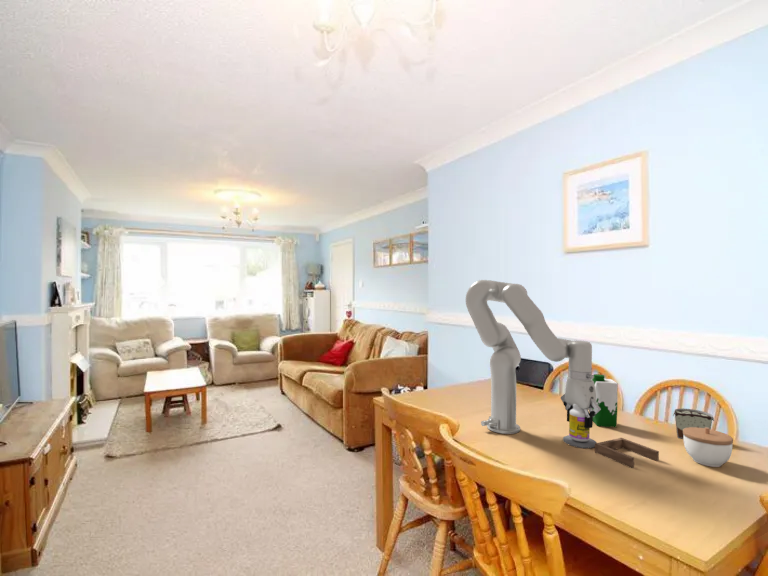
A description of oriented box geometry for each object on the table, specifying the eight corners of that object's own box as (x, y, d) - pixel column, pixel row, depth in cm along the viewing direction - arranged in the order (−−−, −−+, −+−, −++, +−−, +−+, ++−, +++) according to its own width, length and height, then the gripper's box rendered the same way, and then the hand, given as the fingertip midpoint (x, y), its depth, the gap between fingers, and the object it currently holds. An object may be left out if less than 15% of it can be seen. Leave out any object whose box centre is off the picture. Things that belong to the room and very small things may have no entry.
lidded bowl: (736, 474, 121) (737, 438, 121) (684, 464, 127) (684, 430, 127) (728, 459, 131) (728, 425, 131) (680, 451, 138) (681, 419, 138)
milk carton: (589, 419, 170) (589, 372, 170) (612, 421, 168) (612, 373, 168) (595, 426, 161) (595, 377, 161) (620, 428, 160) (620, 378, 160)
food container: (708, 437, 151) (709, 410, 151) (714, 443, 145) (714, 415, 145) (669, 432, 156) (669, 406, 156) (672, 437, 150) (673, 410, 150)
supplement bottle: (575, 442, 142) (575, 406, 142) (565, 435, 148) (565, 400, 148) (593, 442, 142) (593, 405, 142) (582, 435, 149) (583, 400, 149)
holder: (631, 467, 125) (631, 458, 125) (594, 452, 136) (594, 443, 136) (658, 460, 130) (658, 451, 130) (621, 446, 142) (621, 437, 142)
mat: (581, 450, 138) (581, 448, 138) (556, 439, 148) (556, 437, 148) (604, 445, 142) (604, 443, 142) (577, 435, 152) (577, 433, 152)
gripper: (609, 379, 139) (608, 431, 139) (567, 369, 154) (567, 415, 155) (594, 381, 136) (593, 434, 136) (553, 371, 151) (552, 418, 152)
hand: (579, 424), depth 145 cm, fingers open, 6 cm apart
